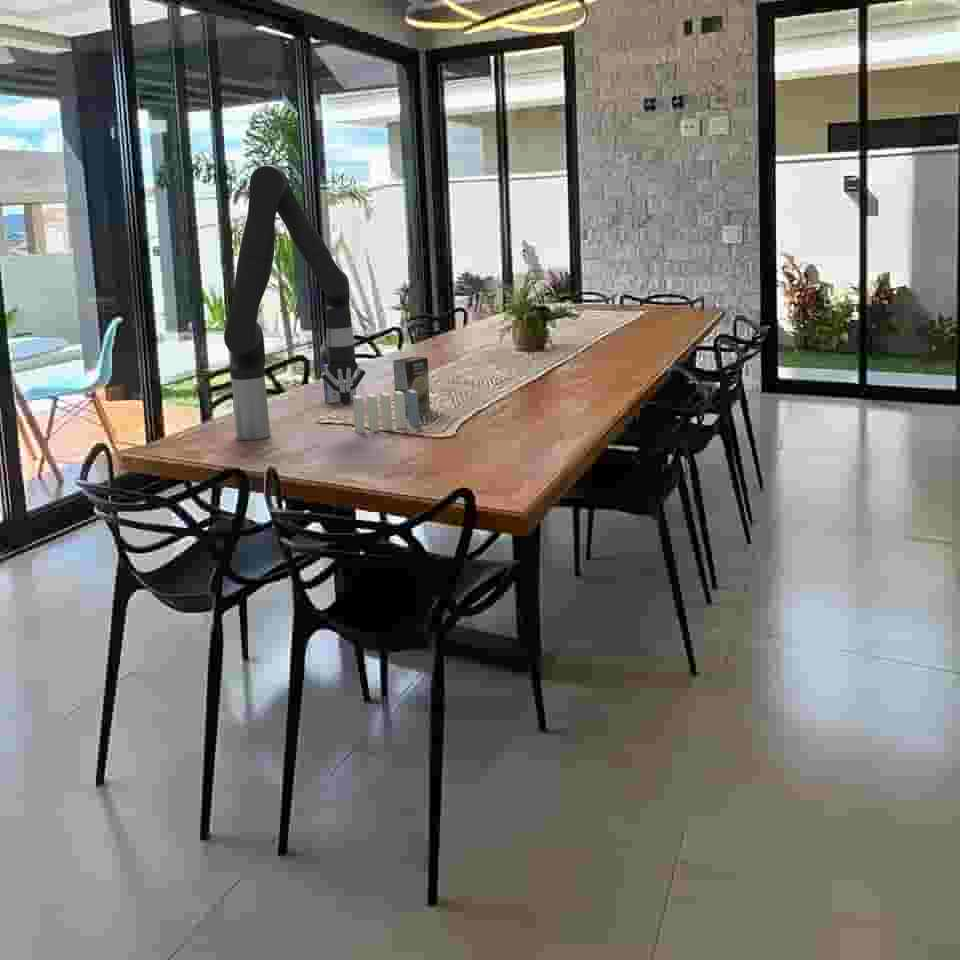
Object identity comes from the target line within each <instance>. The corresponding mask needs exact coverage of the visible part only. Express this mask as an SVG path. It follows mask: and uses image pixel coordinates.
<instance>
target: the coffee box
mask: <svg viewBox="0 0 960 960" xmlns="http://www.w3.org/2000/svg"><path fill="white" fill-rule="evenodd" d="M392 361H393V362H392V363H393V380H394V381H393V382H394V383H393V385H394V391H401V392H402V393H404V401H405V415H408V399H407V390H415V391H416V392H418V409H419V413H420V412H423V411H424V412H425V411H428V410H430V409H431V403H430V402H431V400H430V399H431V398H430V384H429V382H430V380H429V379H430V378H429V362H428V361H429V360H428V357H424V356H409V357H404V358H399V359H394V360H392Z"/></svg>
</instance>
